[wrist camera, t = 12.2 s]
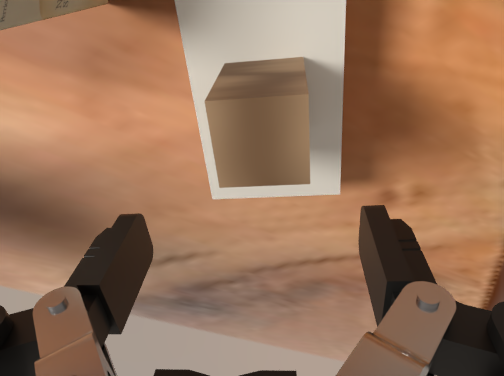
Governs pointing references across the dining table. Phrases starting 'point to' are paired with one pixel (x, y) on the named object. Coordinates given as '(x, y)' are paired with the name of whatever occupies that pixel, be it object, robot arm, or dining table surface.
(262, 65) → the walnut block
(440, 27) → the dining table surface
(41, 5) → the skincare box
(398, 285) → the robot arm
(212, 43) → the white block
